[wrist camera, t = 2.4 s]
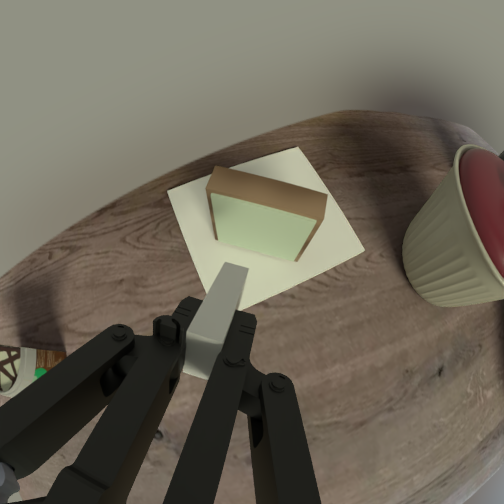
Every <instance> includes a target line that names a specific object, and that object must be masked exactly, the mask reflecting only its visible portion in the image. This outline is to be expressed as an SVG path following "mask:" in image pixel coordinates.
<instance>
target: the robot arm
mask: <svg viewBox="0 0 504 504" xmlns="http://www.w3.org/2000/svg"><path fill="white" fill-rule="evenodd" d="M498 157H499V158H501V159H502V160H503V161H504V151H503V152H502V153H501V154H500V155H499V156H498ZM248 271H249V268H246V267H243V266H239V265H236V264H232V263H228V262H224V264H223V266H222V268H221V270H220V271H219V273H218V275H217V277H216V278H215V280H214V282H213V284H212V286H211V288H210V289H209V291H208V293H207V295H206V297H205V298H204V300H199V299H196V298H193V297H190V296H188V297H187V298H185V299H183V300H182V301H181V302H180V304H179V305H178V307H177V308H176V310H175V311H174V313H173V314H172V316H169V315H163V316H159V317H157V318H155V319H154V320H153V335H152V336H142V335H134V332H133V330H132V329H131V328H130V327H128V326H126V325H123V324H116V325H112V326H110V327H108V328H107V329H105V330H104V331H103V332H101V333H100V334H98V335H97V336H96V337H94V338H93V339H91V340H90V341H89V342H87V343H86V344H84V345H83V346H82V347H80V348H79V349H77V350H76V351H75V352H73V353H72V354H71V355H69V356H68V357H66V358H65V359H64V360H62V361H61V362H60V363H58V364H57V365H56V366H54V367H53V368H51V369H50V370H49V371H47V372H46V373H45V374H43V375H42V376H41V377H39V378H38V379H37V380H35V381H34V382H33V383H31V384H30V385H29V386H27V387H26V388H25V389H23V390H22V391H21V392H19V393H18V394H17V395H15V396H14V397H13V398H11V399H10V400H9V401H7V402H6V403H5V404H4V405H2V406H1V407H0V504H126V501H127V497H128V495H129V492H130V490H131V488H132V486H133V483H134V481H135V479H136V476H137V474H138V472H139V470H140V467H141V465H142V463H143V460H144V458H145V456H146V454H147V451H148V449H149V447H150V445H151V442H152V440H153V438H154V436H155V433H156V431H157V429H158V427H159V424H160V422H161V420H162V418H163V416H164V413H165V411H166V409H167V407H168V404H169V402H170V400H171V398H172V396H173V393H174V391H175V389H176V387H177V385H178V382H179V379H180V373H181V371H182V368H183V372H184V373H187V374H190V375H193V376H196V377H199V378H203V379H206V380H208V382H207V385H206V388H205V390H204V393H203V396H202V399H201V401H200V404H199V407H198V409H197V412H196V415H195V418H194V420H193V423H192V426H191V428H190V431H189V434H188V437H187V439H186V442H185V445H184V447H183V450H182V453H181V456H180V458H179V461H178V464H177V466H176V469H175V472H174V474H173V477H172V480H171V483H170V485H169V488H168V491H167V493H166V496H165V499H164V501H163V504H213V503H214V500H215V496H216V492H217V489H218V485H219V481H220V477H221V474H222V470H223V466H224V462H225V458H226V454H227V451H228V447H229V443H230V439H231V435H232V431H233V427H234V423H235V419H236V415H237V410H240V411H241V412H243V413H245V414H247V418H248V429H249V439H250V449H251V459H252V469H253V478H254V487H255V496H256V504H321V500H320V496H319V491H318V487H317V483H316V478H315V474H314V470H313V465H312V461H311V457H310V452H309V448H308V444H307V439H306V435H305V431H304V427H303V423H302V418H301V414H300V410H299V406H298V402H297V397H296V393H295V389H294V385H293V383H292V381H291V380H290V379H289V378H288V377H287V376H285V375H283V374H281V373H269V374H267V375H265V374H263V373H261V372H259V371H258V370H256V369H255V368H254V367H253V366H252V364H251V363H250V359H249V357H250V351H251V347H252V343H253V338H254V334H255V329H256V325H257V320H256V317H255V315H254V314H250V313H246V312H243V311H239V310H238V309H239V306H240V303H241V299H242V295H243V291H244V287H245V283H246V279H247V275H248ZM107 405H108V406H107ZM106 406H107V408H106V409H105V411H104V413H103V414H102V416H101V418H100V419H99V421H98V423H97V424H96V426H95V428H94V429H93V431H92V433H91V434H90V436H89V438H88V439H87V441H86V443H85V445H84V446H83V448H82V450H81V452H80V453H79V455H78V457H77V459H76V460H75V462H74V463H73V464H72V465H70V466H67V467H65V468H63V469H62V470H61V472H60V473H59V474H58V476H57V478H56V480H55V482H54V483H53V485H52V487H51V489H50V491H49V493H48V494H47V496H45V497H40V498H36V499H31V500H25V501H19V502H12V503H7V501H8V498H9V497H10V496H11V495H12V494H13V493H16V492H18V491H19V490H20V486H19V483H18V482H17V480H18V479H21V478H24V477H26V476H28V475H30V474H31V473H33V472H34V471H35V470H37V469H38V468H39V467H40V466H41V465H42V464H44V463H45V462H46V461H47V460H48V459H49V458H50V457H51V456H52V455H54V454H55V453H56V452H57V451H58V450H59V449H60V448H61V447H62V446H63V445H65V444H66V443H67V442H68V441H69V440H70V439H71V438H72V437H73V436H74V435H75V434H77V433H78V432H79V431H80V430H81V429H82V428H83V427H84V426H85V425H86V424H87V423H88V422H90V421H91V420H92V419H93V418H94V417H95V416H96V415H97V414H98V413H99V412H100V411H101V410H102V409H104V408H105V407H106Z"/></svg>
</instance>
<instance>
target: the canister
mask: <svg viewBox="0 0 504 504" xmlns="http://www.w3.org/2000/svg"><path fill="white" fill-rule="evenodd" d="M402 249H403V251H402V256H403V263H404V269H405V271H406V275H407V277H408V279H409V282H410V283H411V284H412V287H413V288H414V289H415V290H416V292H417V294H419V295H420V296H421V298H423V299H425V300H426V301H427V302H429V303H431V304H433V305H436V306H439V307H458V306H466V305H474V304H480V303H485V302H491V301H496V300H502V299H504V161H503V160H502V159H501V158H499V157H498V156H497V155H495V154H494V153H492V152H490V151H487V150H486V149H484V148H482V147H480V146H477V145H473V144H466V145H463V146H461V147H460V148H459V149H458V150H457V152H456V154H455V157H454V162H453V167H452V168H451V170H450V171H449V172H448V174H447V175H446V176H445V178H444V179H443V181H442V182H441V183H440V185H439V186H438V187H437V189H436V190H435V191H434V193H433V194H432V195H431V196H430V198H429V199H428V200H427V202H426V203H425V204H424V206H423V207H422V208H421V210H420V211H419V212H418V214H417V215H416V216H415V218H414V219H413V220H412V222H411V223H410V225H409V227H408V229H407V230H406V233H405V236H404V239H403V245H402Z"/></svg>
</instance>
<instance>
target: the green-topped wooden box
mask: <svg viewBox="0 0 504 504" xmlns="http://www.w3.org/2000/svg"><path fill="white" fill-rule="evenodd" d="M205 189H206V194H207V200H208V205H209V210H210V215H211V221H212V226H213V231H214V236H215V240H218V241H219V242H223V243H227V244H231V245H234V246H238V247H242V248H245V249H249V250H253V251H256V252H260V253H264V254H268V255H271V256H275V257H279V258H282V259H286V260H290V261H293V262H294V261H295V262H298V260H299V259H300V257H301V255H302V254H303V252H304V251H305V249H306V248H307V246H308V244H309V243H310V241H311V240H312V238H313V236H314V235H315V233H316V231H317V230H318V228H319V227H320V225H321V223H322V222H323V220H324V216H325V210H326V204H327V197H328V194H325V193H322V192H318V191H315V190H312V189H308V188H305V187H301V186H297V185H294V184H290V183H286V182H283V181H279V180H275V179H271V178H267V177H263V176H259V175H255V174H251V173H247V172H243V171H238V170H234V169H229V168H225V167H220V166H215V167H214V170H213V172H212V174H211V176H210V179H209V181H208V183H207V186H206V188H205Z"/></svg>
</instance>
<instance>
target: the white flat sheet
mask: <svg viewBox="0 0 504 504" xmlns="http://www.w3.org/2000/svg"><path fill="white" fill-rule="evenodd" d="M229 169H234V170H238V171H243V172H247V173H251V174H255V175H259V176H263V177H267V178H271V179H275V180H279V181H283V182H286V183H290V184H294V185H297V186H301V187H305V188H308V189H312V190H315V191H318V192H322V193H325V194H328V197H327V204H326V210H325V216H324V220H323V222H322V223H321V225H320V227H319V228H318V230H317V231H316V233H315V235H314V236H313V238H312V240H311V241H310V243H309V244H308V246H307V248H306V249H305V251H304V252H303V254H302V255H301V257H300V259H299V260H298V262H295V261H294V262H293V261H290V260H286V259H282V258H279V257H275V256H271V255H268V254H264V253H260V252H256V251H253V250H249V249H245V248H242V247H238V246H234V245H231V244H227V243H223V242H219V241H218V240H215V236H214V231H213V226H212V221H211V215H210V210H209V205H208V200H207V194H206V189H205V188H206V186H207V183H208V181H209V179H210V176H211V174H210V175H208V176H205V177H202V178H199V179H197V180H194V181H191V182H189V183H186V184H184V185H181V186H179V187H176V188H174V189H171V190H169V191H167V192H168V195H169V198H170V201H171V204H172V206H173V209H174V212H175V215H176V217H177V220H178V223H179V226H180V228H181V231H182V234H183V236H184V239H185V241H186V244H187V247H188V249H189V252H190V254H191V257H192V259H193V262H194V264H195V267H196V269H197V272H198V274H199V277H200V279H201V282H202V284H203V286H204V289H205V291H206V293H208V291H209V289H210V288H211V286H212V284H213V282H214V280H215V278H216V277H217V275H218V273H219V271H220V270H221V268H222V266H223V264H224V262H228V263H232V264H236V265H239V266H243V267H246V268H249V271H248V275H247V279H246V283H245V287H244V291H243V295H242V299H241V303H240V306H239V309H238V310H239V311H241V310H243V309H245V308H247V307H250V306H252V305H254V304H256V303H259V302H261V301H263V300H265V299H267V298H270V297H272V296H274V295H276V294H278V293H280V292H283V291H285V290H287V289H289V288H291V287H293V286H295V285H298V284H300V283H302V282H304V281H306V280H308V279H310V278H312V277H314V276H316V275H318V274H320V273H322V272H324V271H326V270H328V269H330V268H332V267H334V266H336V265H338V264H340V263H342V262H344V261H346V260H348V259H350V258H352V257H354V256H356V255H358V254H360V253H362V252H364V251H365V249H364V248H363V246H362V244H361V242H360V241H359V239H358V237H357V236H356V234H355V232H354V230H353V229H352V227H351V225H350V224H349V222H348V221H347V219H346V217H345V216H344V214H343V212H342V211H341V209H340V208H339V206H338V204H337V203H336V201H335V200H334V198H333V197H332V195H331V194H330V192H329V191H328V189H327V188H326V186H325V185H324V183H323V182H322V180H321V179H320V177H319V176H318V174H317V173H316V171H315V170H314V168H313V167H312V166H311V164H310V163H309V161H308V160H307V158H306V157H305V156H304V154H303V153H302V152H301V150H300V149H299V147H296V148H292V149H289V150H285V151H282V152H278V153H275V154H271V155H268V156H265V157H261V158H258V159H255V160H252V161H249V162H246V163H242V164H239V165H236V166H233V167H230V168H229Z"/></svg>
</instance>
